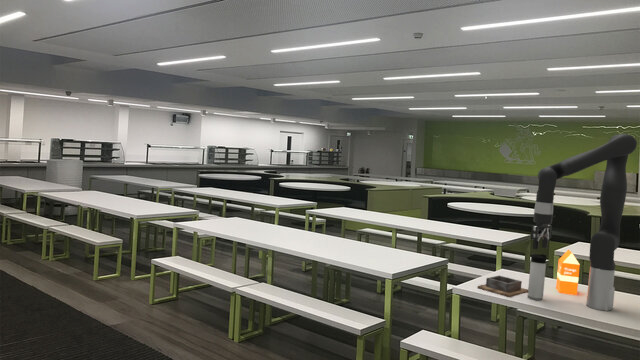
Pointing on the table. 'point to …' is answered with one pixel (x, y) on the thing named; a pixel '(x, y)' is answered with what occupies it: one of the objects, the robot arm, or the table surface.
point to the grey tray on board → (503, 286)
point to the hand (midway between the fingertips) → (540, 248)
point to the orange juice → (568, 274)
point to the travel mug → (537, 277)
